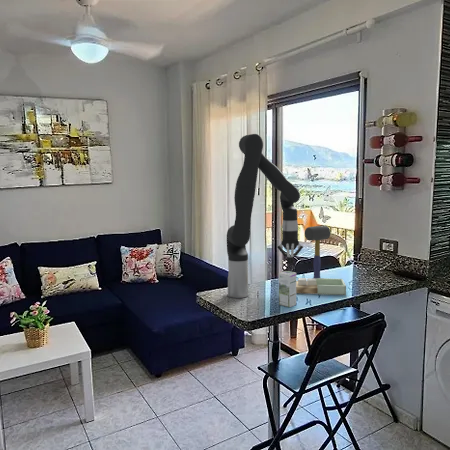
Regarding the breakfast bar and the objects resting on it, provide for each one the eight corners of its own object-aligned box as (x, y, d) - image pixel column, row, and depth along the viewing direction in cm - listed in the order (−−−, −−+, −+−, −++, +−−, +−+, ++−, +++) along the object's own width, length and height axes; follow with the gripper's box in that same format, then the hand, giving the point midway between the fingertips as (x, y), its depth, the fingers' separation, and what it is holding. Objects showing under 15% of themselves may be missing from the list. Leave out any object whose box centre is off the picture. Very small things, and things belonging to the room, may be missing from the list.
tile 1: (298, 284, 206) (298, 279, 206) (298, 282, 210) (298, 277, 210) (306, 285, 205) (306, 280, 205) (306, 283, 209) (306, 278, 209)
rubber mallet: (311, 285, 215) (312, 227, 212) (302, 282, 222) (303, 226, 219) (330, 282, 221) (331, 225, 218) (321, 279, 228) (322, 224, 224)
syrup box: (296, 304, 185) (297, 272, 183) (289, 307, 181) (289, 274, 179) (285, 302, 189) (285, 270, 187) (278, 305, 184) (278, 272, 183)
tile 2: (307, 285, 205) (307, 280, 205) (307, 283, 209) (307, 278, 209) (315, 285, 205) (316, 280, 204) (315, 283, 209) (315, 278, 208)
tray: (317, 294, 200) (317, 285, 200) (315, 286, 214) (315, 278, 213) (345, 295, 198) (346, 286, 198) (342, 287, 212) (342, 278, 211)
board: (291, 293, 203) (291, 286, 203) (291, 286, 215) (291, 280, 214) (317, 293, 201) (317, 287, 201) (315, 287, 213) (316, 281, 213)
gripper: (276, 230, 203) (276, 265, 205) (304, 230, 201) (304, 266, 203) (276, 228, 210) (276, 262, 212) (303, 228, 208) (303, 262, 210)
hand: (290, 264), depth 208 cm, fingers closed
